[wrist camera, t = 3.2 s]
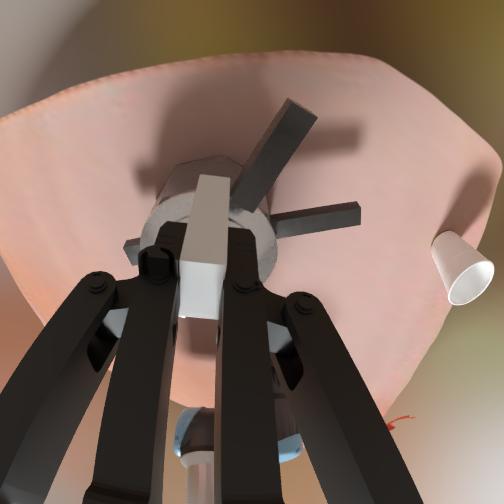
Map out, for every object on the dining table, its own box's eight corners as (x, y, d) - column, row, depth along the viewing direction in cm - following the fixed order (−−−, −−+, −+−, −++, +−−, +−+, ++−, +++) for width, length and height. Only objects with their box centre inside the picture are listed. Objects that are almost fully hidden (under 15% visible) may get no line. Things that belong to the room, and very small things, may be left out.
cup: (415, 240, 47) (444, 284, 39) (458, 211, 44) (492, 249, 35) (428, 272, 52) (452, 313, 44) (467, 245, 49) (495, 284, 40)
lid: (227, 322, 43) (227, 338, 41) (123, 284, 38) (117, 300, 35) (363, 146, 28) (374, 157, 25) (223, 63, 23) (221, 64, 20)
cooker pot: (159, 262, 48) (147, 303, 41) (123, 179, 39) (100, 213, 31) (343, 230, 45) (361, 269, 38) (339, 136, 36) (364, 162, 29)
